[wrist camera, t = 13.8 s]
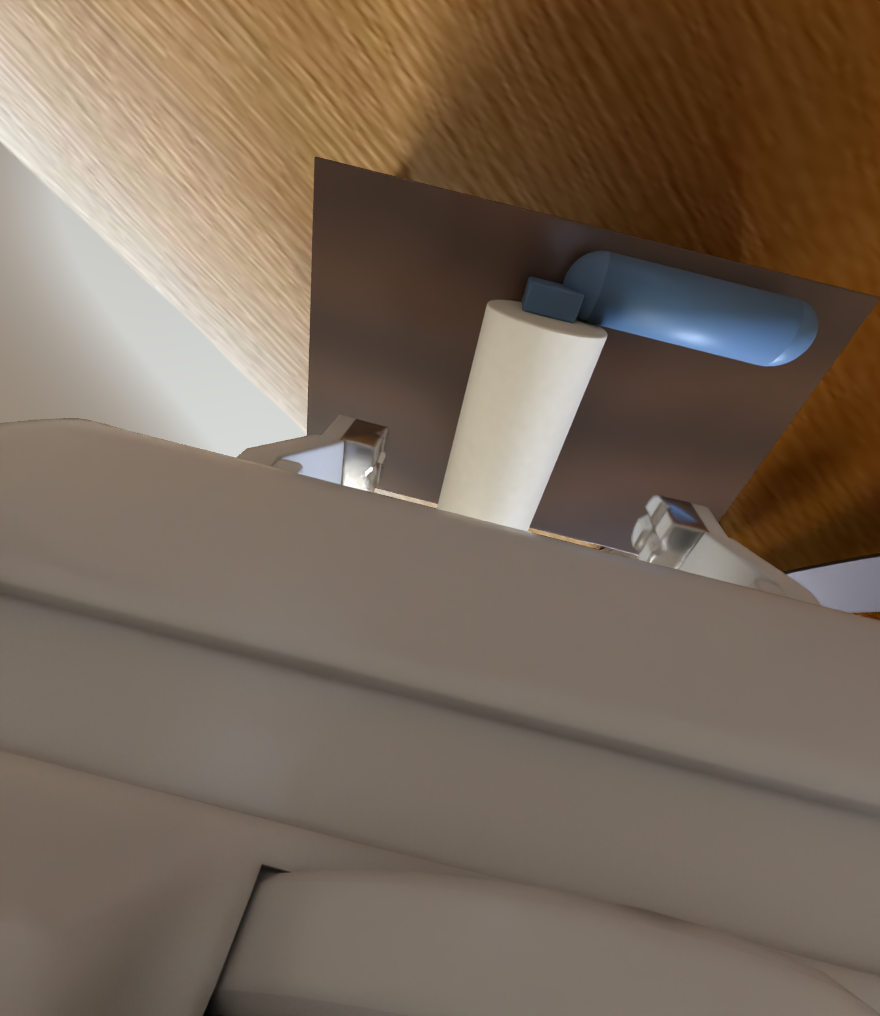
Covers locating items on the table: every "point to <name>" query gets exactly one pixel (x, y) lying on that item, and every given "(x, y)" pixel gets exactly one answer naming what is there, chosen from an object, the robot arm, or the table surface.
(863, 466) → the table surface
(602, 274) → the lint roller
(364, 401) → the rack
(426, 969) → the robot arm
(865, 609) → the laptop tray
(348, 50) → the table surface
